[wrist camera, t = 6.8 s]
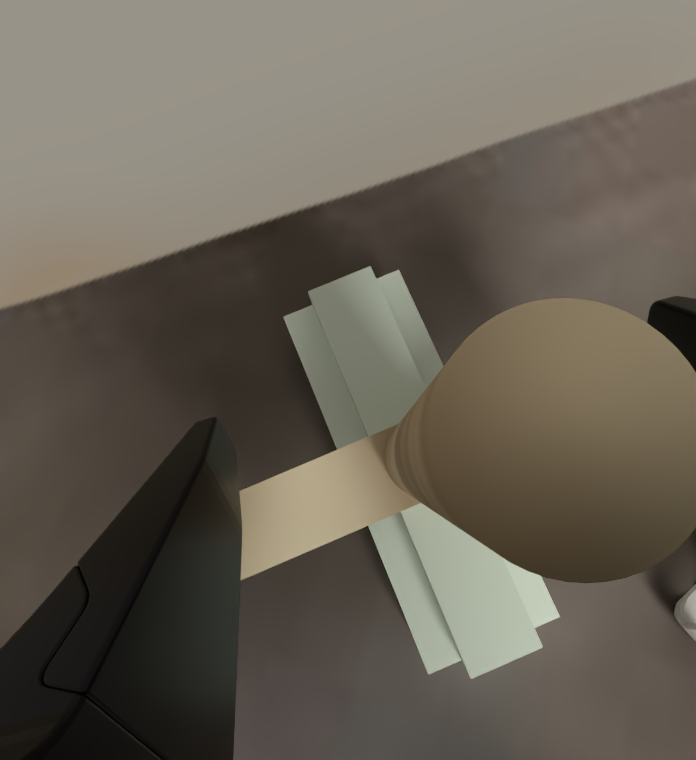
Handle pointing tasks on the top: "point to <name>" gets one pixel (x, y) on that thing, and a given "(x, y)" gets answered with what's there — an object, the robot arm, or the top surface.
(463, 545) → the ridge
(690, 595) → the wrench
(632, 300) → the top surface
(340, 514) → the rubber stamp
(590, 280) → the top surface
